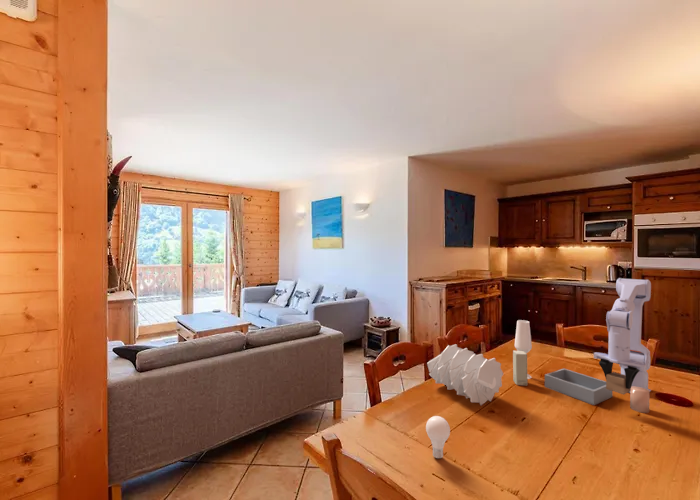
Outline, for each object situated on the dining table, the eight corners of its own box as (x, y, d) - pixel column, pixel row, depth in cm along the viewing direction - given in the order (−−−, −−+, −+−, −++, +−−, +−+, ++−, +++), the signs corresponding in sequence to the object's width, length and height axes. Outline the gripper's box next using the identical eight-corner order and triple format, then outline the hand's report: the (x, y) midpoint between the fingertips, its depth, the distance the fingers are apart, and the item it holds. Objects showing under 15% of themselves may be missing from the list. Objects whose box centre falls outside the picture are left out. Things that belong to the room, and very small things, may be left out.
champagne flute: (532, 374, 146) (532, 320, 145) (531, 380, 140) (531, 323, 140) (515, 371, 149) (515, 318, 149) (513, 376, 144) (513, 321, 143)
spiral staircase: (449, 390, 140) (502, 413, 118) (420, 380, 132) (470, 402, 111) (461, 348, 144) (514, 363, 122) (433, 335, 137) (484, 349, 115)
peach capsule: (634, 404, 119) (634, 385, 119) (651, 410, 114) (652, 390, 114) (627, 408, 116) (627, 388, 116) (645, 414, 112) (645, 393, 112)
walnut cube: (613, 385, 117) (613, 371, 117) (630, 391, 113) (630, 376, 113) (606, 388, 115) (606, 374, 115) (623, 394, 111) (623, 379, 110)
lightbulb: (422, 450, 93) (422, 412, 93) (444, 449, 93) (444, 411, 93) (430, 465, 86) (430, 424, 86) (453, 464, 87) (453, 423, 87)
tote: (563, 380, 140) (563, 368, 140) (612, 396, 125) (612, 383, 125) (544, 386, 134) (544, 374, 134) (593, 405, 118) (593, 391, 118)
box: (527, 386, 134) (527, 354, 134) (516, 385, 135) (516, 354, 135) (523, 380, 140) (523, 350, 139) (512, 380, 140) (512, 349, 140)
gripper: (589, 342, 118) (589, 379, 118) (640, 353, 105) (639, 395, 106) (599, 339, 122) (599, 375, 122) (649, 350, 109) (649, 391, 109)
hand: (618, 384), depth 114 cm, fingers closed on walnut cube, 5 cm apart
